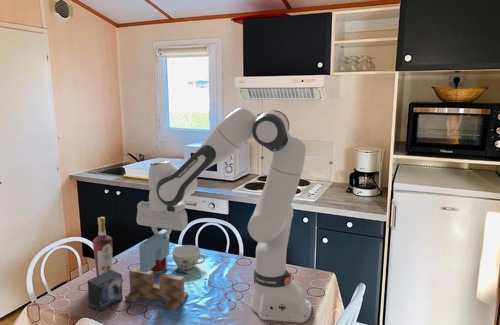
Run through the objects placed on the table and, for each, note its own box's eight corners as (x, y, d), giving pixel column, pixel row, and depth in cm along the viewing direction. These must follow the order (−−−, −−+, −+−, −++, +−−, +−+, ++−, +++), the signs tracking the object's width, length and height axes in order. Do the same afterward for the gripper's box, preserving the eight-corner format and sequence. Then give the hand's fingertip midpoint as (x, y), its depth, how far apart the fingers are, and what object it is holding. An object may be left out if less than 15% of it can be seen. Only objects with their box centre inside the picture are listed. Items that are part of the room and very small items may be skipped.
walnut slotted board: (189, 296, 143) (188, 272, 141) (176, 310, 133) (175, 285, 131) (139, 286, 149) (138, 263, 147) (124, 299, 140) (123, 275, 138)
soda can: (162, 273, 160) (161, 247, 158) (147, 272, 162) (146, 246, 159) (169, 266, 167) (168, 241, 165) (154, 264, 169) (153, 239, 166)
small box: (99, 312, 131) (97, 285, 129) (87, 307, 135) (86, 280, 133) (123, 299, 140) (122, 273, 138) (112, 294, 144) (110, 269, 142)
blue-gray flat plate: (146, 272, 131) (145, 245, 129) (140, 271, 131) (139, 245, 129) (169, 254, 146) (168, 229, 144) (163, 253, 146) (162, 229, 144)
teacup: (167, 272, 162) (167, 254, 160) (178, 259, 174) (178, 243, 173) (200, 275, 159) (200, 258, 158) (209, 263, 171) (209, 246, 170)
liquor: (101, 289, 146) (96, 222, 141) (92, 283, 151) (87, 218, 146) (118, 282, 152) (114, 217, 147) (108, 277, 157) (105, 213, 152)
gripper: (132, 202, 139) (133, 237, 142) (181, 208, 133) (181, 244, 136) (142, 198, 145) (143, 231, 148) (189, 204, 139) (189, 238, 142)
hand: (162, 238), depth 142 cm, fingers closed on blue-gray flat plate, 2 cm apart
